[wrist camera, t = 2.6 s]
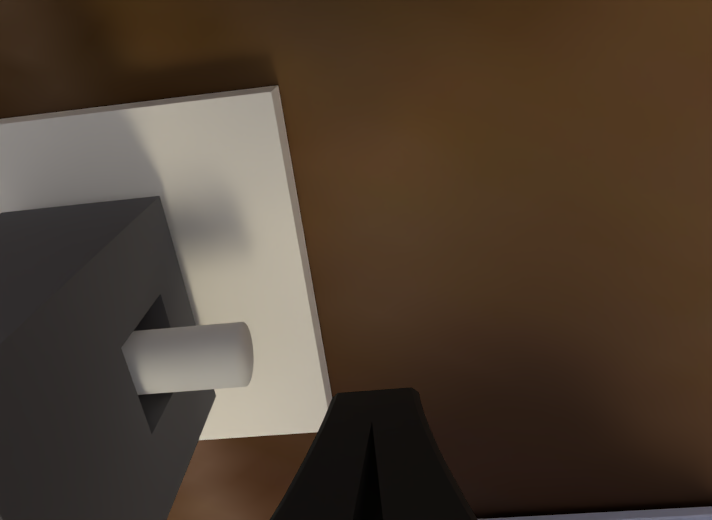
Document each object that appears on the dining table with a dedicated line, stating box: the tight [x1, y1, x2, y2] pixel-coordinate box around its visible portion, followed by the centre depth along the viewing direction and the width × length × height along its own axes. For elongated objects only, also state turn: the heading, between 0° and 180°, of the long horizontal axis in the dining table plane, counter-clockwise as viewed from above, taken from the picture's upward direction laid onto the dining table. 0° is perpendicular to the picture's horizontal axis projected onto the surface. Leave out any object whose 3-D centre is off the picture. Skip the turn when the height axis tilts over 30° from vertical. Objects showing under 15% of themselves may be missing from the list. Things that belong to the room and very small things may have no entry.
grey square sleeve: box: [0, 196, 216, 520], centre depth 12 cm, size 4×6×8 cm, turn 7°
